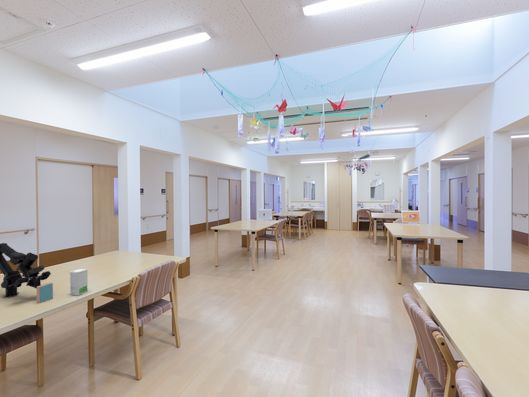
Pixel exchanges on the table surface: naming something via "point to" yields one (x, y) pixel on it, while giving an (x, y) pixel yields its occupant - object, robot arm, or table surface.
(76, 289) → the skincare box
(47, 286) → the pink flat block
